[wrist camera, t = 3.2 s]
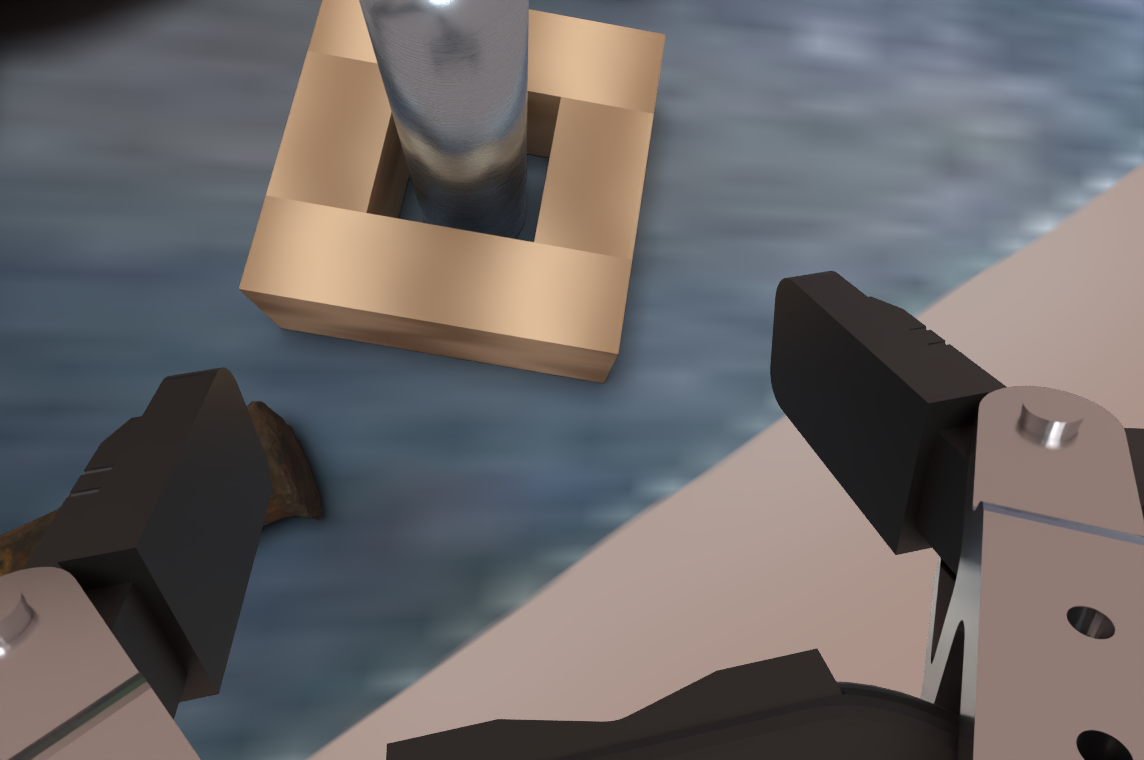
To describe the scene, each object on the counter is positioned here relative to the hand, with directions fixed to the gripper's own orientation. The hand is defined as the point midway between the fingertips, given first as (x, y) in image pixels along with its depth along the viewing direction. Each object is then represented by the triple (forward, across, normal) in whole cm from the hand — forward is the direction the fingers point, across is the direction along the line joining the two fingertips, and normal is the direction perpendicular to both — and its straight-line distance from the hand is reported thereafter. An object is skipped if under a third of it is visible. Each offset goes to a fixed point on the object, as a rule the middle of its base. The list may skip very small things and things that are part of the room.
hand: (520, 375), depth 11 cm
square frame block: (+18, 0, +3) cm, 19 cm away
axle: (+18, 0, +3) cm, 19 cm away
